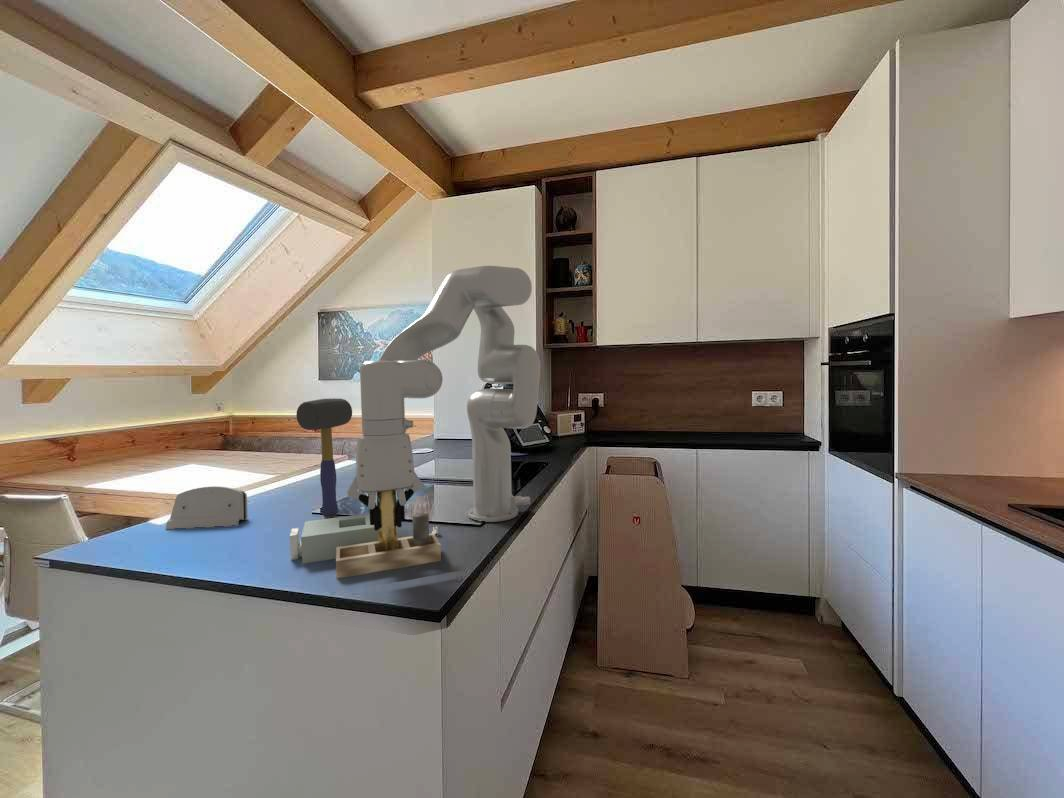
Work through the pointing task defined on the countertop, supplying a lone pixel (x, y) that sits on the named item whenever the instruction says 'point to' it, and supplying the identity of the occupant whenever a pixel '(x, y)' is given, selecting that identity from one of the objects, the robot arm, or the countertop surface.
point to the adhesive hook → (435, 530)
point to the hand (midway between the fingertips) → (387, 525)
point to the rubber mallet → (325, 441)
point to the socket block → (334, 536)
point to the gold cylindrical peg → (387, 520)
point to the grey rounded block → (208, 508)
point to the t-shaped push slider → (295, 544)
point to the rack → (390, 552)
